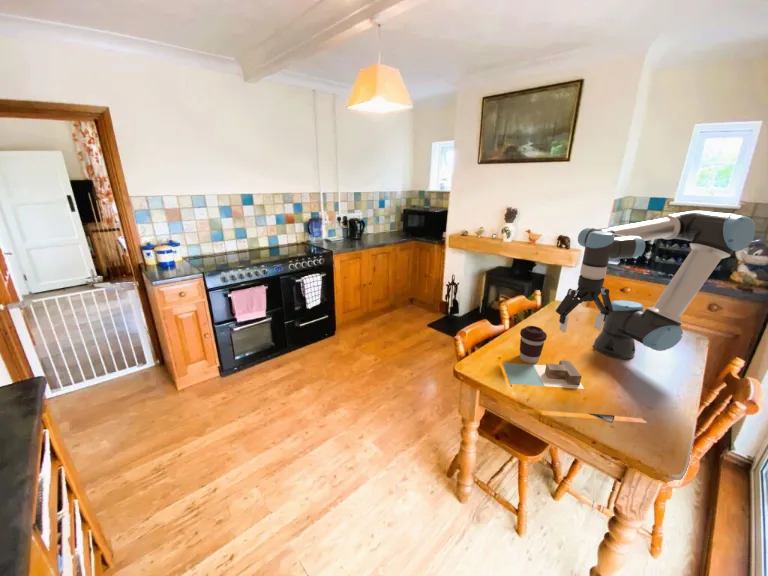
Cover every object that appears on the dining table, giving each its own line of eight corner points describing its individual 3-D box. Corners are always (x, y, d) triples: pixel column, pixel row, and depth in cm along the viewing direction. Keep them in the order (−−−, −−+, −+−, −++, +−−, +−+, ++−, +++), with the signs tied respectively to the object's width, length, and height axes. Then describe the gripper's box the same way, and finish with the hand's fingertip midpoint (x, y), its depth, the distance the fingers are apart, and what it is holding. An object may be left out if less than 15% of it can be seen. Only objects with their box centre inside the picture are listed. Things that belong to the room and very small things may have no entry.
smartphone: (618, 398, 114) (613, 422, 104) (618, 400, 115) (612, 424, 104) (594, 390, 119) (586, 412, 108) (593, 391, 119) (586, 414, 108)
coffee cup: (544, 368, 132) (550, 336, 127) (518, 365, 134) (523, 334, 128) (538, 355, 141) (544, 324, 136) (514, 353, 143) (519, 322, 138)
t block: (568, 369, 129) (570, 361, 128) (579, 385, 120) (581, 376, 118) (542, 367, 130) (543, 359, 129) (551, 383, 121) (553, 374, 120)
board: (568, 369, 131) (569, 366, 131) (584, 391, 118) (584, 388, 118) (502, 365, 134) (502, 362, 134) (510, 386, 121) (511, 383, 121)
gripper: (618, 271, 117) (604, 323, 125) (551, 274, 116) (542, 326, 123) (634, 278, 110) (619, 333, 118) (563, 281, 109) (553, 336, 116)
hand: (579, 329), depth 120 cm, fingers open, 13 cm apart
